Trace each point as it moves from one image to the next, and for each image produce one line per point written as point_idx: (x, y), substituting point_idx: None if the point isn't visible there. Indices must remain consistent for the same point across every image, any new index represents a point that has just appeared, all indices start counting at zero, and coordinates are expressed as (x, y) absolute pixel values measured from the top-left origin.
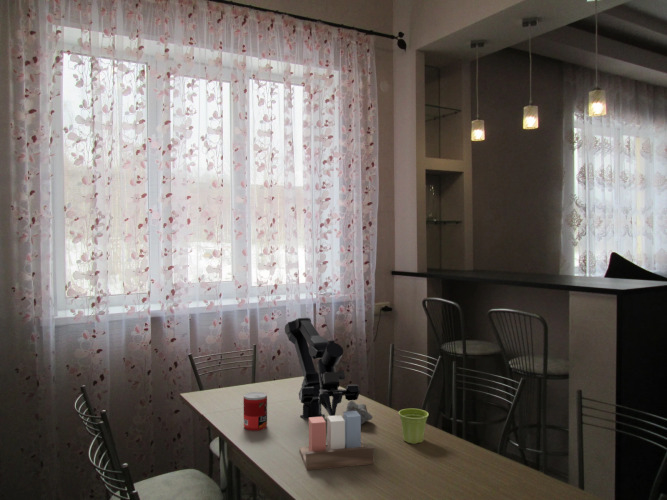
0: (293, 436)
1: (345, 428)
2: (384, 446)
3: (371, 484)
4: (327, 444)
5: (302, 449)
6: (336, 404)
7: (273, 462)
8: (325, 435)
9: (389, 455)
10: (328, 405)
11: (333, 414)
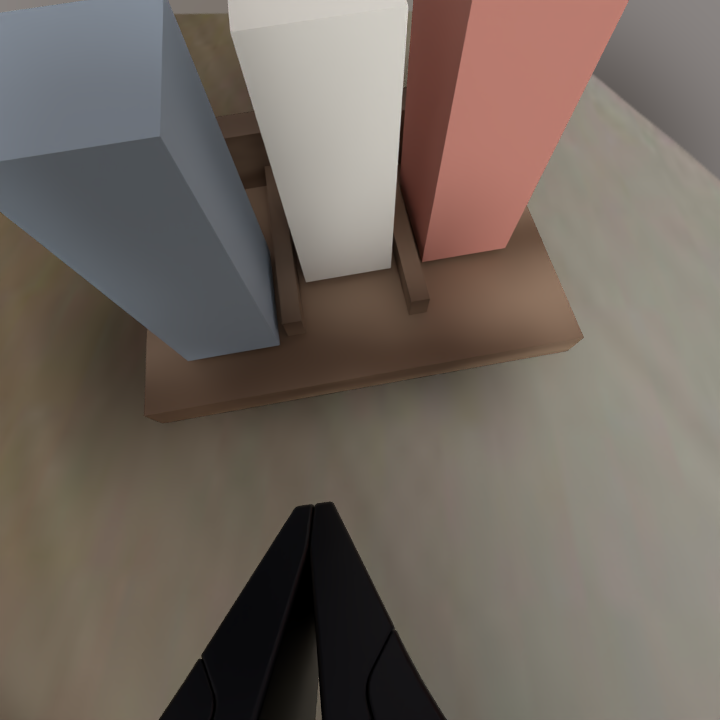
0: (707, 706)
1: (229, 194)
2: (10, 423)
3: (227, 60)
4: (391, 243)
5: (553, 301)
6: (174, 713)
7: (679, 227)
8: (412, 45)
9: (44, 292)
10: (388, 661)
11: (306, 528)
